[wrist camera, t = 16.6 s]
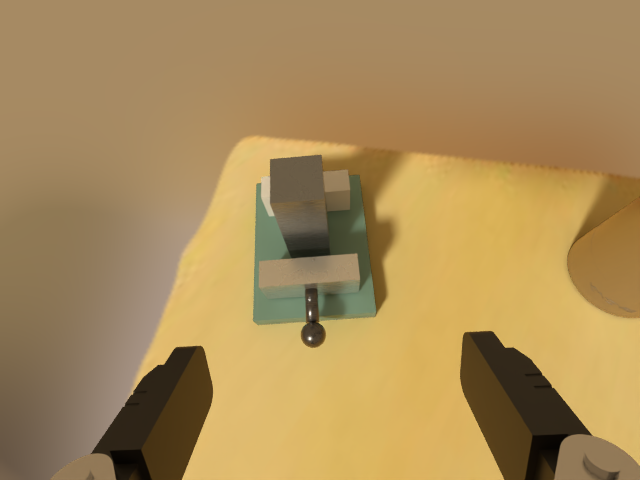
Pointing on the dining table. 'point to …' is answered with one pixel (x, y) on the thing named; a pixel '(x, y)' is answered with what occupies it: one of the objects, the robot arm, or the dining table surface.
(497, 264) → the dining table surface
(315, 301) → the vise jaw
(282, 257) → the vise
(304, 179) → the steel bar
